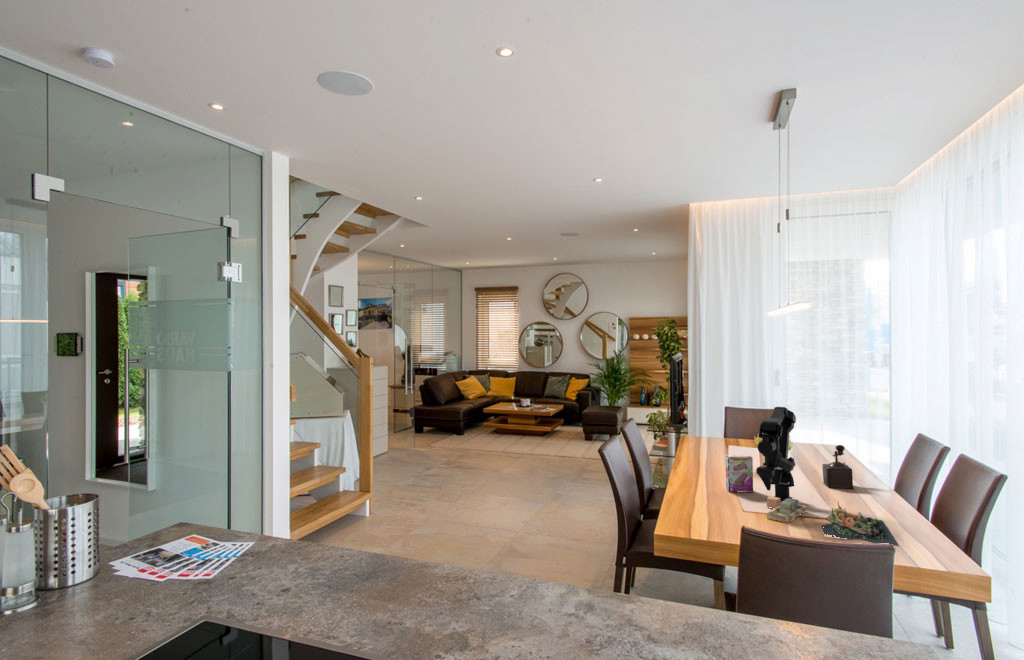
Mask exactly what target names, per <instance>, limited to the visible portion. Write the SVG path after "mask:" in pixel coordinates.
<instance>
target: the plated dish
mask: <svg viewBox="0 0 1024 660" xmlns="http://www.w3.org/2000/svg"><path fill="white" fill-rule="evenodd" d="M837 507H838V508H837ZM837 507H835V508H833V507H831V512H830V513H829V514H828V515H827V516H826V520H827V521H828V522H830V523H826V524H823V525H822V524H821V531H822V530H823V531H822V533H823V532H824V534H826V535H827V534H828V535H832V537H834V536H833V535H835V536H836V537H840V538H847V539H851V540H853V541H854V540H858V541H864V542H868V543H872V544H878V543H889V544H893V545H892V546H897V547H899V546H900V545H899V543H898V542H897V540H896V539H895V537H894V536H893V534H892V533H891V531H890V529H889V528H888V526H887V525H886V523H885V522H884V521H883V520H882V519H878V518H875V519H874V518H872V517H870V516H869V517H864V516H863V513H861V512H860V511H858V513H857V515H856V514H853V513H851V512H848V511H847V510H846V507H844V508H843V507H842V506H841V505H840V503H839V501H837ZM823 527H824V528H823ZM824 534H823V535H824ZM851 540H850V541H851Z"/></svg>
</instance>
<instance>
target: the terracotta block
mask: <svg viewBox="0 0 1024 660" xmlns="http://www.w3.org/2000/svg"><path fill="white" fill-rule="evenodd" d="M780 502H781V500H780V498H777V497H774V496H768V497H767V498H766V508H767V507H772V508H776V507H778V506H779V503H780Z"/></svg>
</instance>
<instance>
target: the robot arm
mask: <svg viewBox="0 0 1024 660" xmlns="http://www.w3.org/2000/svg"><path fill="white" fill-rule="evenodd" d="M796 421H797V417H796V415H795V413H794V412H793V411H791V410H789V409H788V407H785V406H776V407H774V409H773V412H772V413H771V415H770V416H769V418H766V419H765V418H764V419H763V420H762V421H761V423H760V425H759V431H758V438H759V439H762V440H761V441H760V442H758V445H757V450H758V452H759V453H760V454H762V456H763V457H764V462H763V463H762V465H760V466H757V468H756V469H755V471H756V472H755V473H756V474H757V475H758V477H760V480H761V481H762V482H763V483H762V484H763V485H764V486H765V488H766V490H767V491H769V492H770V491H771V487H772V485H774V496H773V497H777V498H780V501H782V500H785V499H787V498H791V499H792V498H793V499H794V497H793V496H790V488H792V487H795V481H794V477H793V474H792V473H791V472H792V471H794V469H795V467H796V462H795V459H794V458H793V457H792V456H789V443H790V433H791V432H792V431H793V430H794V428H795V424H796Z"/></svg>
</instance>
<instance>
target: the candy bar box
mask: <svg viewBox="0 0 1024 660" xmlns="http://www.w3.org/2000/svg"><path fill="white" fill-rule="evenodd" d="M724 459H725V489H727V490H726V491H727V492H728V491H729V492H728V493H738V492H737V491H753V492H754V474H753V473H754V470H753V469H754V468H753V467H754V466H753V463H754V462H753V456H751V455H749V454H747V455H746V454H745V455H744V454H740V455H739V454H725V458H724Z"/></svg>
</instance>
